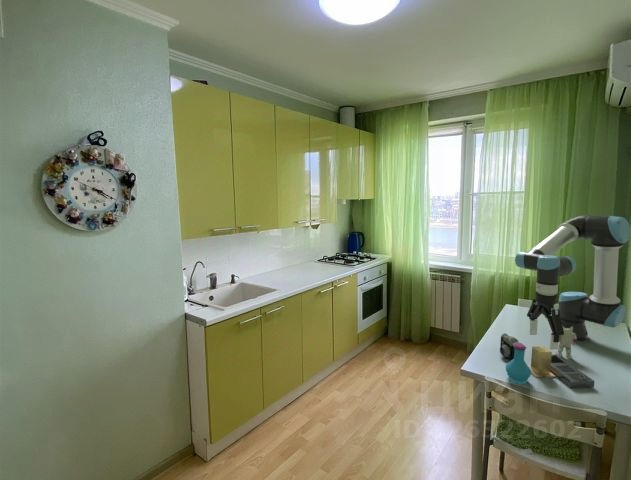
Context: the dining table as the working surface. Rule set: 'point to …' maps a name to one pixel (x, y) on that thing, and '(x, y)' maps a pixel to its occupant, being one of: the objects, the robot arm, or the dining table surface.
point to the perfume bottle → (518, 366)
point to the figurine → (566, 342)
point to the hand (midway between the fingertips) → (543, 341)
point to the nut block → (541, 360)
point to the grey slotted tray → (569, 374)
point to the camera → (508, 346)
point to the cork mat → (542, 375)
